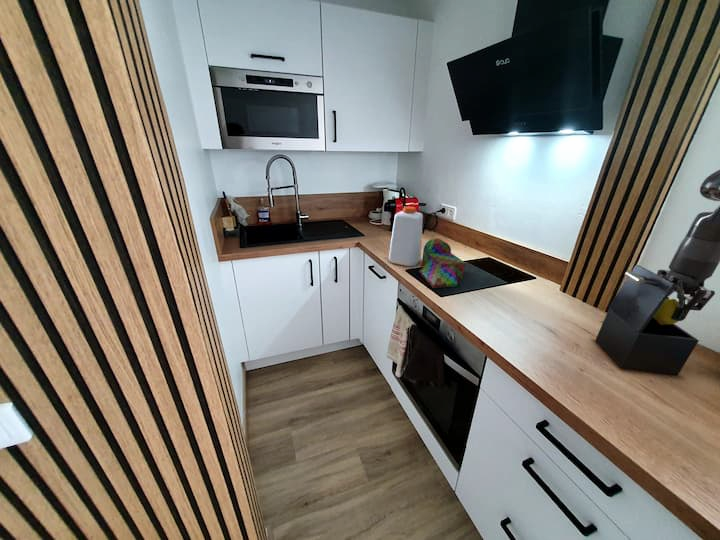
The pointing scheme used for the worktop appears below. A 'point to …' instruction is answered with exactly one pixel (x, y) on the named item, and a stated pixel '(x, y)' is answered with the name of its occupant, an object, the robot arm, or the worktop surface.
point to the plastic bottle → (406, 237)
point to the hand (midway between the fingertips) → (666, 313)
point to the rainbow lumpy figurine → (441, 264)
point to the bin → (645, 345)
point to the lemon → (666, 312)
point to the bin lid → (641, 297)
